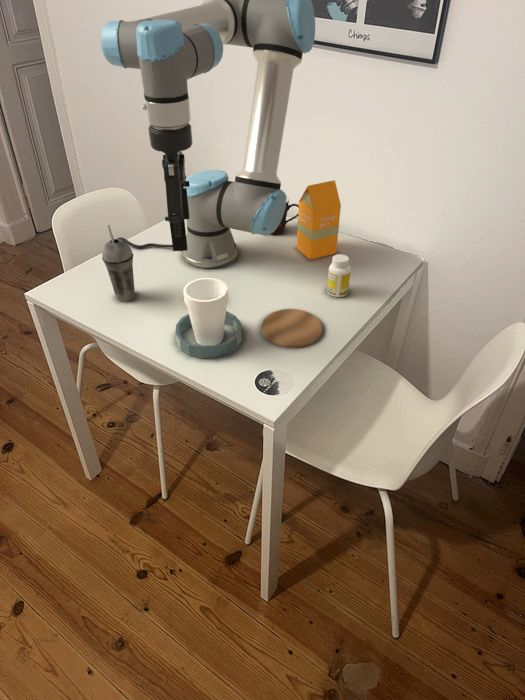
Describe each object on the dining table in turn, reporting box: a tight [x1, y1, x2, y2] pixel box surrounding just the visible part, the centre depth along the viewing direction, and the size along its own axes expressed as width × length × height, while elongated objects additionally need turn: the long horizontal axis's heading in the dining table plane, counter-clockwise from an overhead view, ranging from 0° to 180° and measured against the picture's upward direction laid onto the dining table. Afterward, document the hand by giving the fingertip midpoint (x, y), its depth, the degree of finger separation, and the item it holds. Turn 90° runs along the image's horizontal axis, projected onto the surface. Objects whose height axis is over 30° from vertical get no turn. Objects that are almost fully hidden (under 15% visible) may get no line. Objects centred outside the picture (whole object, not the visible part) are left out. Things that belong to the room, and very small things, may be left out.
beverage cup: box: [101, 224, 135, 303], centre depth 127 cm, size 7×7×20 cm
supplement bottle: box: [326, 253, 352, 298], centre depth 132 cm, size 5×5×10 cm
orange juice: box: [296, 179, 342, 261], centre depth 146 cm, size 8×9×20 cm
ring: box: [175, 310, 243, 360], centre depth 119 cm, size 15×15×3 cm
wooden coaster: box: [261, 308, 323, 349], centre depth 123 cm, size 14×14×1 cm
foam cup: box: [182, 277, 229, 346], centre depth 116 cm, size 10×9×13 cm
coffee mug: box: [268, 195, 299, 236], centre depth 158 cm, size 12×9×10 cm
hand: (181, 233), depth 107 cm, fingers open, 13 cm apart
